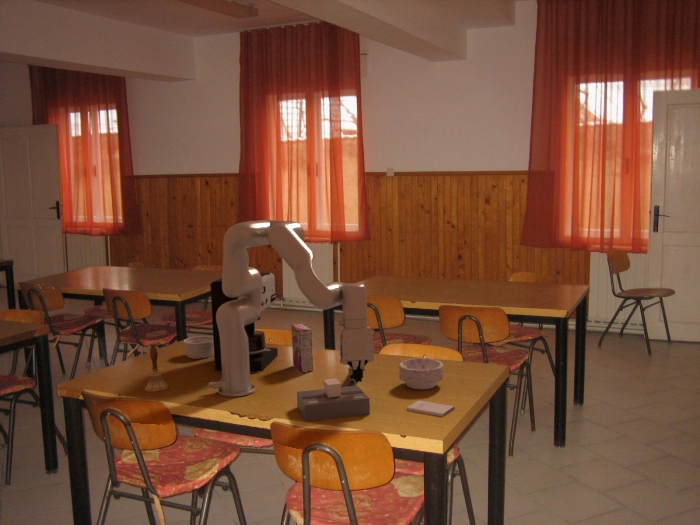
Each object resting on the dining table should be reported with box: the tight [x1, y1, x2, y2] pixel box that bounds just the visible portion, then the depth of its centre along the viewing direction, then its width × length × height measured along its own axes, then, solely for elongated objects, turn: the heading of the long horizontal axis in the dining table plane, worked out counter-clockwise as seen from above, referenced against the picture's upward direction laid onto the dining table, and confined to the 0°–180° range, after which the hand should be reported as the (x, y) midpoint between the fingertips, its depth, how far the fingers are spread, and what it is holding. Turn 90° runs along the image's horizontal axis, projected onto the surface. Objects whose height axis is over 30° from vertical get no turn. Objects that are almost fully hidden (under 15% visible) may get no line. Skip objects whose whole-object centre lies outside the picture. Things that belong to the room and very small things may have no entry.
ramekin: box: [183, 335, 214, 360], centre depth 289 cm, size 13×13×7 cm
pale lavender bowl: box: [398, 357, 444, 391], centre depth 238 cm, size 15×15×8 cm
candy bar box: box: [290, 323, 314, 373], centre depth 264 cm, size 11×5×16 cm, turn 22°
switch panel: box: [296, 384, 371, 422], centre depth 215 cm, size 20×14×5 cm
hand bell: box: [144, 343, 169, 393], centre depth 244 cm, size 8×8×16 cm
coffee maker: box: [209, 272, 279, 373], centre depth 271 cm, size 28×20×35 cm
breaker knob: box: [323, 377, 342, 398], centre depth 215 cm, size 4×6×4 cm, turn 14°
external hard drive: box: [406, 399, 455, 418], centre depth 214 cm, size 2×8×12 cm
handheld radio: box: [347, 361, 366, 387], centre depth 248 cm, size 7×3×25 cm
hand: (358, 380), depth 216 cm, fingers closed
